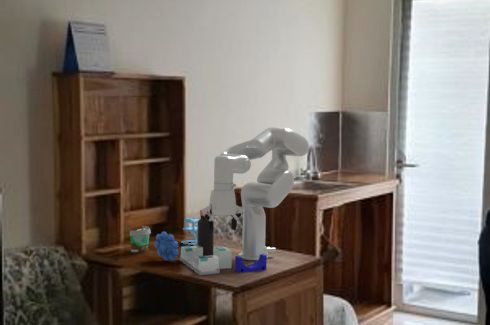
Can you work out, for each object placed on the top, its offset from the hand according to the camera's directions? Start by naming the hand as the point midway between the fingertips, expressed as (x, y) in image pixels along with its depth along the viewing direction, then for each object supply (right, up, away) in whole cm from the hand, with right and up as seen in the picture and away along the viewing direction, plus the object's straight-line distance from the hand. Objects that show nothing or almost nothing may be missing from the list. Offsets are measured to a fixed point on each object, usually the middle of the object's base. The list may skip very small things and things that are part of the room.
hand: (222, 230), depth 283 cm
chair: (-15, -10, +43) cm, 47 cm away
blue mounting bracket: (+11, -16, -3) cm, 19 cm away
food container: (-35, -12, +25) cm, 44 cm away
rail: (-9, -15, 0) cm, 17 cm away
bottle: (-8, -13, +17) cm, 23 cm away
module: (0, -15, +2) cm, 15 cm away
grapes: (-23, -14, +8) cm, 28 cm away
